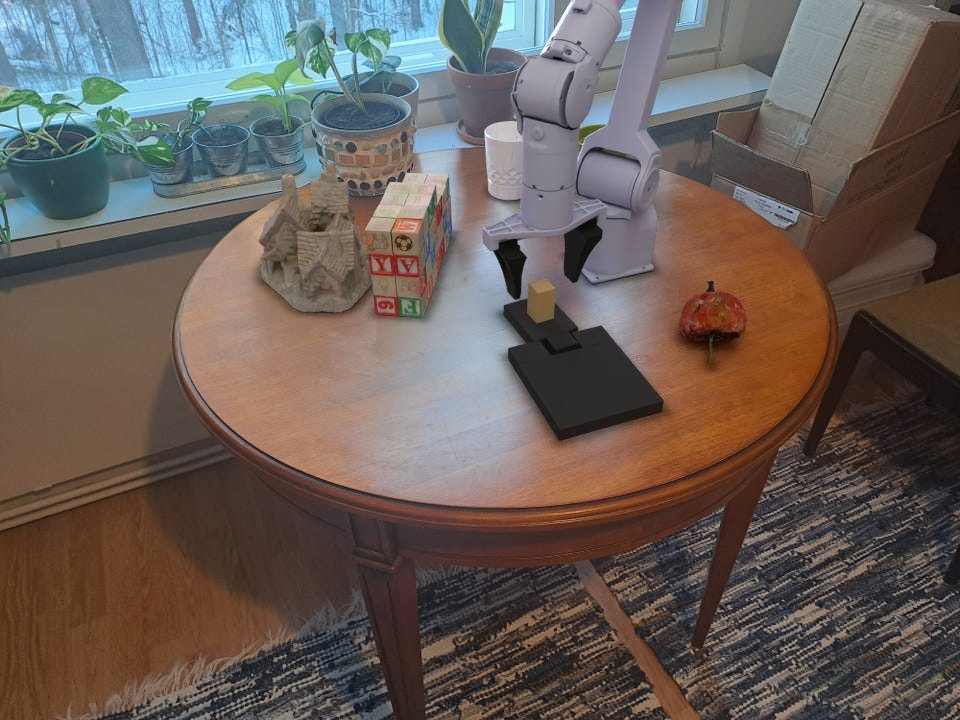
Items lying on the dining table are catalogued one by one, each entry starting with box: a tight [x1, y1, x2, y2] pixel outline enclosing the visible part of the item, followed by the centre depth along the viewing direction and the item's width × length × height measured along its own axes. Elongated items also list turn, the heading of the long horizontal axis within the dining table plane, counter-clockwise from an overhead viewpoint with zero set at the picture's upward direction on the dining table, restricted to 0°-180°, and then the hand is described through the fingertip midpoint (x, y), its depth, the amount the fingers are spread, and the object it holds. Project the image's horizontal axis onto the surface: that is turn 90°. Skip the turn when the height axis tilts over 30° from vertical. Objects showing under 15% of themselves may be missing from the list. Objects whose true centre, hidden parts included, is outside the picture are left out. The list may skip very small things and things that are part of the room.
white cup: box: [484, 120, 522, 201], centre depth 111 cm, size 8×8×10 cm
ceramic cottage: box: [257, 160, 372, 314], centre depth 90 cm, size 16×16×15 cm
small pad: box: [503, 277, 579, 356], centre depth 84 cm, size 10×6×6 cm, turn 25°
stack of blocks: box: [364, 172, 453, 319], centre depth 92 cm, size 21×6×12 cm, turn 172°
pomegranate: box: [678, 280, 748, 366], centre depth 81 cm, size 7×7×10 cm
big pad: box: [507, 324, 665, 441], centre depth 78 cm, size 14×12×2 cm
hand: (542, 286), depth 83 cm, fingers open, 7 cm apart
